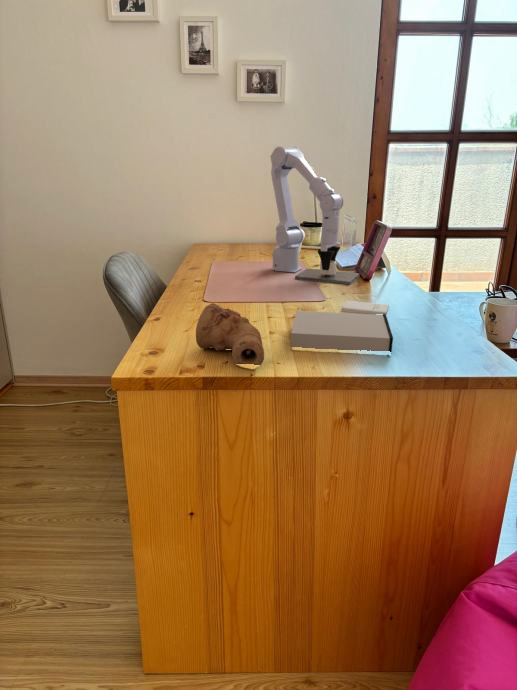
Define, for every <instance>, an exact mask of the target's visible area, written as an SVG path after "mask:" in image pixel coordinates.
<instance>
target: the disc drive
mask: <svg viewBox="0 0 517 690" xmlns="http://www.w3.org/2000/svg"><path fill="white" fill-rule="evenodd" d="M293 319H294V320H293V323H292V327H291V333H290V348H291V347H302V348H315V349H337V350H360V351H361V350H367V351H370V350H371V351H390V352H392V353H393V342H394V341H393V339H394V336H393V333H392V329H391V326H390V324H389V323H390V322H389V320H388V317H387V314H383V315H376V314H366V313H355V312H331V311H329V312H328V311H308V310H306V311H304V310H296V311H295V316H294V318H293Z"/></svg>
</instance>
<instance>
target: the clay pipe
mask: <svg viewBox="0 0 517 690" xmlns="http://www.w3.org/2000/svg"><path fill="white" fill-rule="evenodd" d="M195 342H196V344H197V346H198V347H199V348H200V349H202V348H209V349H211V348H210V347H215V348H214V350H216V349H217V350H216V351H218V350H225V351H226V349H232V350H231V351H232V352H231V355H232V356H231V357H232V360H233V362H234V364H235V365H236V364H254V365H260V366H261V365H262V364H263V362H264V359H265V349H264V346H263V341H262V336H261V333H260V331H259V329H258V328H257V327H256V326H254V325H252V324H251V323H250V320H249V318H247V317H246V316H242V315H241V314H240V312H237V311H236V310H234V309H230V308H228V307H227V308H222V307H221V306H219V305H218V304H216V303H210V304H208V305H206V306H205V307H204V308H203V309H202V312H201V313H200V315H199V317H198V319H197V324H196V328H195Z"/></svg>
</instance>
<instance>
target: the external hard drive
mask: <svg viewBox="0 0 517 690" xmlns="http://www.w3.org/2000/svg"><path fill="white" fill-rule="evenodd" d="M389 306H390V305H389V304H385V303H372V302H363V301H353V300H346V301H345V303H344V304H343V306H342V307H341V311H342V312H345V313H355V314H366V313H368V314H386V315H387V313H388V311H389V308H390V307H389Z"/></svg>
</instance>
